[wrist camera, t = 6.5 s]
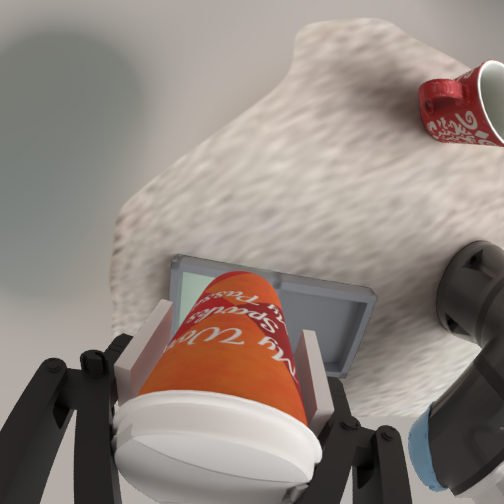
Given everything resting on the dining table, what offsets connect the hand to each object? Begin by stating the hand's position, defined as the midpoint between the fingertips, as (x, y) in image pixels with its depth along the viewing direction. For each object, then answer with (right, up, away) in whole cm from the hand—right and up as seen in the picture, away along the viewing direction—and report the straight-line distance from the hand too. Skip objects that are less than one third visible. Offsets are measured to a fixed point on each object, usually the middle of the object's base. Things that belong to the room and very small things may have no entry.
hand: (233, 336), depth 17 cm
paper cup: (0, +1, +4) cm, 4 cm away
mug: (+24, +23, +12) cm, 35 cm away
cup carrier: (+3, -4, +21) cm, 22 cm away
